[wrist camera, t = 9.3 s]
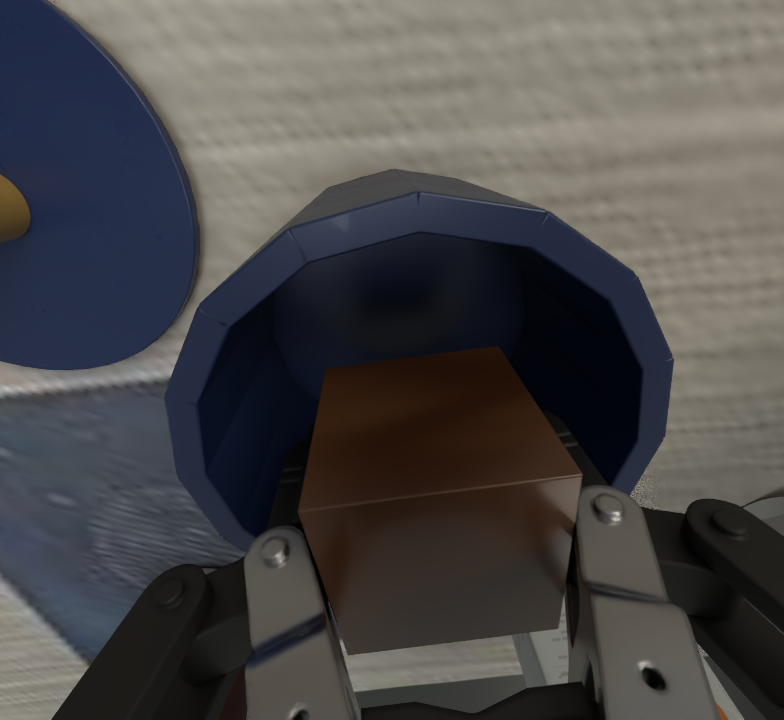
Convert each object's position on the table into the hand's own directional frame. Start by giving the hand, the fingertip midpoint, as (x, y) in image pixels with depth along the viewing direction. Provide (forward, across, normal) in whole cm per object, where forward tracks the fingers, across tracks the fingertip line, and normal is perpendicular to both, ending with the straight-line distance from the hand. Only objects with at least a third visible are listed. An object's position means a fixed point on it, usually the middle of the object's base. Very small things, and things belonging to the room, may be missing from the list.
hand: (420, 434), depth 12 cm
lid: (+8, +15, -8) cm, 18 cm away
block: (0, 0, 0) cm, 0 cm away
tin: (+8, 0, 0) cm, 8 cm away
